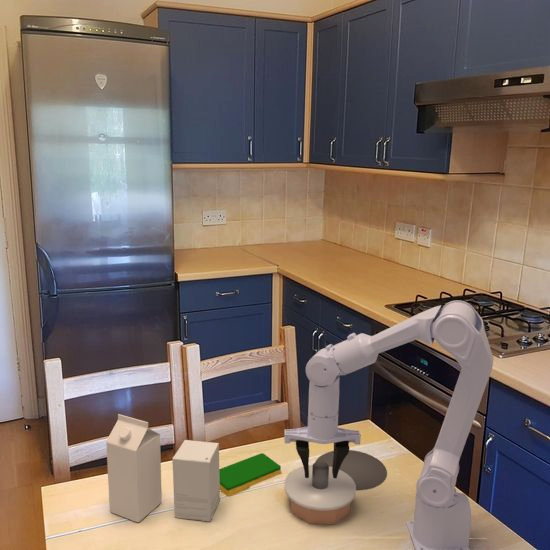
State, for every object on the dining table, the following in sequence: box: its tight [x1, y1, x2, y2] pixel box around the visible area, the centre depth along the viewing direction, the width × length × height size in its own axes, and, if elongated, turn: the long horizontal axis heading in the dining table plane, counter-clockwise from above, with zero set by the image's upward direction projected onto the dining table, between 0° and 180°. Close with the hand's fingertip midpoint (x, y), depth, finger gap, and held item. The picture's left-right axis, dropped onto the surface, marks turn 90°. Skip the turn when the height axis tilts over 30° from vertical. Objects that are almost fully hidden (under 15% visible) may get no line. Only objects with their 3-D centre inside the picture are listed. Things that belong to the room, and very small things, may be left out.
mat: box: [314, 449, 388, 492], centre depth 123 cm, size 16×16×1 cm
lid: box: [283, 461, 357, 511], centre depth 109 cm, size 14×14×5 cm
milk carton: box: [105, 413, 163, 523], centre depth 106 cm, size 7×7×19 cm
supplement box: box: [171, 439, 221, 522], centre depth 107 cm, size 7×7×13 cm
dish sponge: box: [219, 452, 282, 497], centre depth 119 cm, size 7×14×2 cm, turn 127°
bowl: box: [289, 498, 351, 525], centre depth 109 cm, size 12×12×4 cm
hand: (320, 475), depth 108 cm, fingers open, 5 cm apart
